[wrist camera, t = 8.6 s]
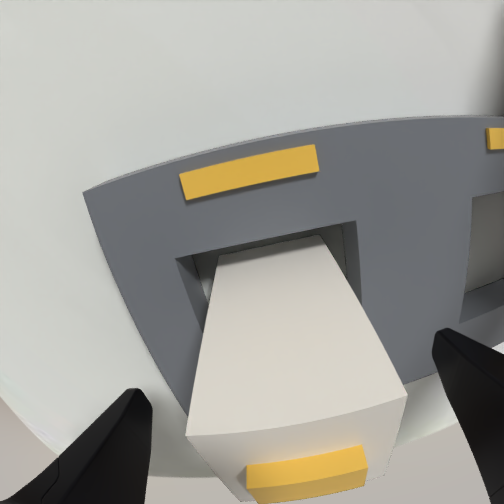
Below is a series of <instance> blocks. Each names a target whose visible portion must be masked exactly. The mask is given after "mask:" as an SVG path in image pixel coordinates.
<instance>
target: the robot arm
mask: <svg viewBox="0 0 504 504" xmlns="http://www.w3.org/2000/svg"><path fill="white" fill-rule="evenodd" d="M432 358H433V360H434V363H435V366H436V368H437V371H438V373H439V376H440V379H441V381H442V384H443V387H444V390H445V392H446V395H447V397H448V400H449V402H450V404H451V406H452V408H453V410H454V412H455V414H456V417H457V419H458V421H459V423H460V425H461V428H462V430H463V432H464V434H465V437H466V439H467V441H468V443H469V446H470V448H471V451H472V453H473V455H474V458H475V460H476V463H477V465H478V468H479V471H480V473H481V476H482V478H483V481H484V484H485V487H486V490H487V493H488V496H489V497H490V498H489V499H490V502H491V504H504V354H502V353H500V352H498V351H496V350H494V349H492V348H490V347H488V346H486V345H483V344H481V343H479V342H477V341H475V340H473V339H471V338H469V337H467V336H465V335H463V334H461V333H459V332H457V331H455V330H453V329H451V328H443V329H441V330H438V331H436V333H435V336H434V341H433V346H432ZM152 413H153V410H152V406H151V403H150V402H149V400H148V399H147V398H146V396H145V395H144V393H143V392H142V390H141V389H139V388H129V389H127V390H126V391H125V392H124V393H123V394H122V395H121V396H120V397H119V398H118V399H117V400H116V401H115V402H114V403H112V404H111V405H110V406H109V407H108V408H107V409H106V410H105V411H104V412H103V413H102V414H101V415H100V416H99V417H98V418H97V419H96V420H95V421H94V422H93V423H92V424H91V425H90V426H89V427H88V428H87V429H86V430H85V431H84V432H83V433H82V434H81V435H80V436H79V437H78V438H77V439H76V440H75V441H74V442H73V443H72V444H71V445H70V446H69V447H68V448H67V449H66V450H65V451H64V452H63V453H62V454H61V455H60V456H59V458H56V459H55V460H54V461H53V462H52V463H51V464H50V465H49V466H48V467H47V468H46V469H45V470H44V471H43V472H42V473H40V474H39V475H38V476H37V477H36V478H34V479H33V480H32V481H31V482H30V483H28V484H27V485H26V486H24V487H23V488H22V489H20V490H19V491H18V492H17V493H15V494H14V495H13V496H11V497H10V498H8V499H6V500H3V501H0V504H144V502H145V494H146V485H147V477H148V469H149V462H150V454H151V437H152Z"/></svg>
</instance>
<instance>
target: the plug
mask: <svg viewBox="0 0 504 504" xmlns="http://www.w3.org/2000/svg"><path fill="white" fill-rule="evenodd" d="M407 396H408V394H407V392H406V390H405V388H404V386H403V384H402V382H401V380H400V378H399V376H398V374H397V372H396V370H395V368H394V366H393V364H392V362H391V360H390V358H389V356H388V354H387V352H386V351H385V349H384V347H383V345H382V343H381V341H380V339H379V337H378V335H377V333H376V332H375V330H374V328H373V326H372V324H371V322H370V321H369V319H368V317H367V315H366V313H365V311H364V310H363V308H362V306H361V304H360V302H359V301H358V299H357V297H356V295H355V294H354V292H353V290H352V288H351V287H350V285H349V283H348V281H347V280H346V278H345V276H344V275H343V273H342V271H341V269H340V268H339V266H338V264H337V263H336V261H335V259H334V258H333V256H332V254H331V253H330V251H329V249H328V248H327V246H326V244H325V243H324V241H323V240H322V238H321V236H320V235H315V236H310V237H305V238H300V239H296V240H291V241H286V242H281V243H277V244H272V245H267V246H262V247H258V248H253V249H248V250H243V251H239V252H234V253H229V254H224V255H220V256H219V259H218V264H217V269H216V273H215V278H214V283H213V288H212V293H211V298H210V303H209V308H208V313H207V318H206V323H205V328H204V333H203V338H202V343H201V349H200V354H199V359H198V365H197V370H196V376H195V381H194V387H193V393H192V398H191V404H190V410H189V416H188V422H187V428H186V434H185V436H186V438H187V439H188V440H189V442H190V443H191V444H192V446H193V447H194V448H195V449H196V451H197V452H198V453H199V454H200V456H201V457H202V458H203V460H204V461H205V462H206V463H207V464H208V466H209V467H210V468H211V469H212V470H213V472H214V473H215V474H216V475H217V476H218V478H219V479H220V480H221V481H222V482H223V483H224V484H225V485H226V487H227V488H228V489H229V490H230V491H231V492H232V493H233V494H234V495H235V497H236V498H237V499H238V500H239V501H240V502H242V501H257V503H258V504H268V503H278V502H286V501H293V500H300V499H307V498H313V497H318V496H323V495H328V494H333V493H338V492H342V491H346V490H350V489H354V488H358V487H362V486H364V484H365V481H368V480H371V479H375V478H379V477H381V476H384V474H385V471H386V469H387V466H388V463H389V460H390V457H391V454H392V451H393V448H394V445H395V441H396V438H397V435H398V431H399V428H400V424H401V420H402V417H403V413H404V409H405V405H406V401H407Z"/></svg>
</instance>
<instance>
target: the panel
mask: <svg viewBox="0 0 504 504" xmlns="http://www.w3.org/2000/svg"><path fill="white" fill-rule="evenodd" d="M503 191H504V116H478V115H455V116H424V117H406V118H393V119H382V120H371V121H362V122H354V123H346V124H338V125H331V126H324V127H317V128H311V129H305V130H299V131H293V132H288V133H282V134H277V135H272V136H267V137H262V138H257V139H253V140H248V141H243V142H239V143H235V144H230V145H226V146H222V147H218V148H214V149H210V150H206V151H202V152H198V153H195V154H191V155H187V156H184V157H180V158H177V159H173V160H170V161H166V162H163V163H160V164H156V165H153V166H150V167H147V168H144V169H141V170H137V171H134V172H131V173H128V174H125V175H123V176H120V177H117V178H114V179H111V180H108V181H106V182H104V183H101V184H99V185H97V186H95V187H93V188H91V189H89V190H87V191H84V192H82V193H83V196H84V199H85V202H86V205H87V208H88V211H89V214H90V217H91V220H92V223H93V226H94V228H95V231H96V234H97V237H98V239H99V242H100V245H101V247H102V250H103V252H104V255H105V257H106V260H107V262H108V265H109V267H110V270H111V272H112V274H113V277H114V279H115V281H116V284H117V286H118V288H119V290H120V293H121V295H122V297H123V299H124V301H125V304H126V306H127V308H128V310H129V312H130V314H131V316H132V318H133V320H134V322H135V325H136V327H137V329H138V331H139V333H140V334H141V336H142V338H143V340H144V342H145V344H146V346H147V348H148V350H149V352H150V354H151V355H152V357H153V359H154V361H155V363H156V365H157V366H158V368H159V370H160V372H161V373H162V375H163V377H164V379H165V380H166V382H167V384H168V386H169V387H170V389H171V391H172V392H173V394H174V396H175V397H176V399H177V400H178V402H179V404H180V405H181V407H182V408H183V410H184V412H185V413H186V415H187V416H189V410H190V404H191V398H192V393H193V387H194V381H195V376H196V370H197V365H198V359H199V354H200V349H201V343H202V338H203V333H204V328H205V323H206V318H207V313H208V308H209V305H208V302H207V300H206V297H205V294H204V291H203V288H202V285H201V282H200V279H199V276H198V273H197V270H196V267H195V264H194V261H193V258H192V254H197V253H202V252H206V251H211V250H215V249H220V248H225V247H229V246H234V245H239V244H244V243H248V242H253V241H258V240H263V239H267V238H272V237H277V236H282V235H286V234H291V233H296V232H301V231H306V230H311V229H315V228H320V227H325V226H330V225H335V224H340V223H342V231H343V240H344V249H345V259H346V270H347V281H348V283H349V285H350V287H351V288H352V290H353V292H354V294H355V295H356V297H357V299H358V301H359V302H360V304H361V306H362V308H363V310H364V311H365V313H366V315H367V317H368V319H369V321H370V322H371V324H372V326H373V328H374V330H375V332H376V333H377V335H378V337H379V339H380V341H381V343H382V345H383V347H384V349H385V351H386V352H387V354H388V356H389V358H390V360H391V362H392V364H393V366H394V368H395V370H396V372H397V374H398V376H399V378H400V380H401V382H402V384H403V385H404V384H406V383H409V382H412V381H415V380H418V379H421V378H423V377H426V376H429V375H431V374H434V373H436V372H438V371H437V368H436V366H435V363H434V360H433V358H432V346H433V341H434V336H435V333H436V331H438V330H441V329H443V328H451V329H453V330H455V331H457V332H459V333H461V334H463V335H465V336H467V337H469V338H471V339H473V340H475V341H477V342H479V343H481V344H483V345H486V346H488V347H490V348H492V347H494V346H496V345H498V344H500V343H502V342H504V278H503V279H501V280H499V281H496V282H494V283H491V284H488V285H486V286H483V287H481V288H478V289H475V290H473V291H470V292H467V293H464V291H465V285H466V278H467V270H468V261H469V251H470V239H471V221H472V197H477V196H482V195H487V194H493V193H498V192H503Z"/></svg>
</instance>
